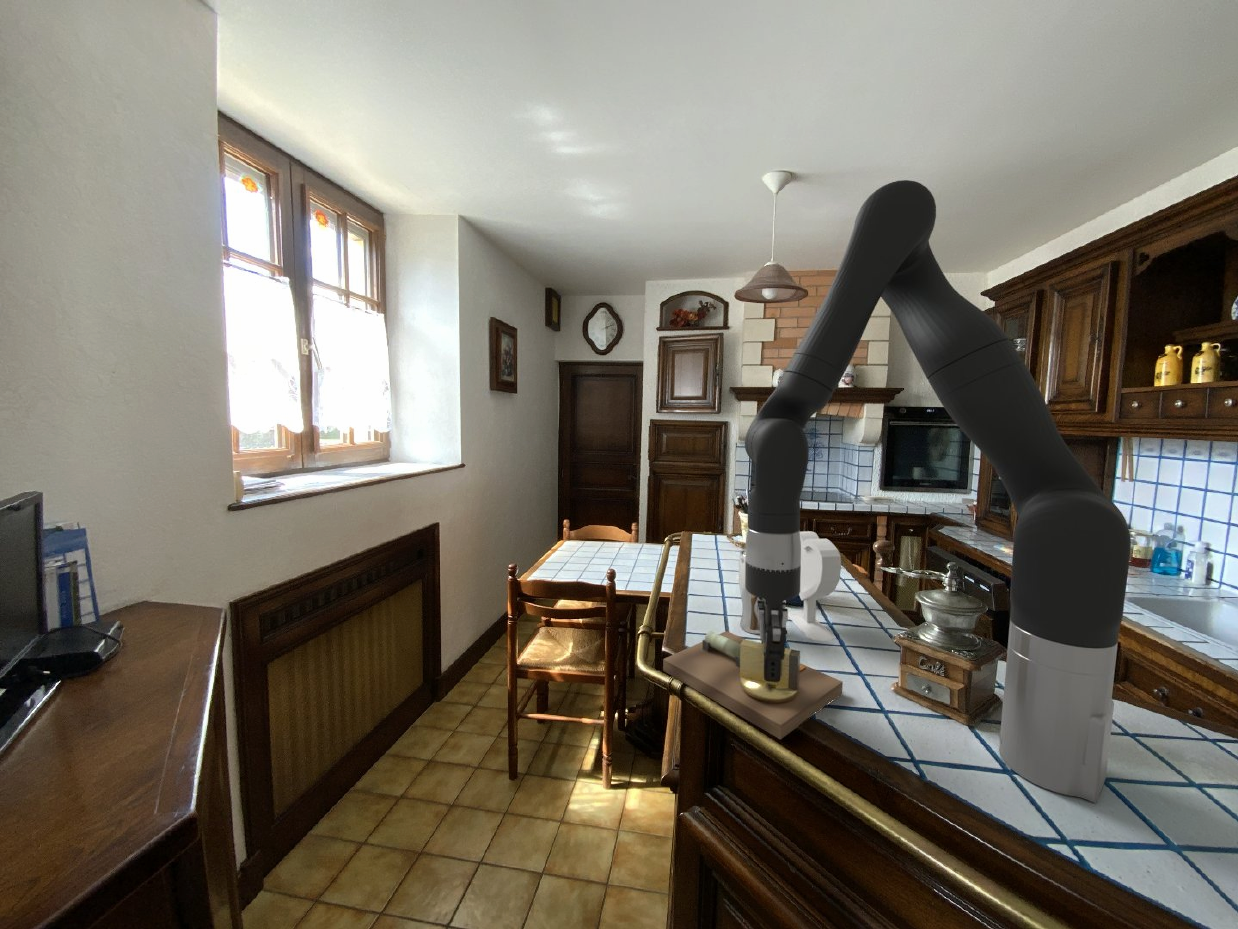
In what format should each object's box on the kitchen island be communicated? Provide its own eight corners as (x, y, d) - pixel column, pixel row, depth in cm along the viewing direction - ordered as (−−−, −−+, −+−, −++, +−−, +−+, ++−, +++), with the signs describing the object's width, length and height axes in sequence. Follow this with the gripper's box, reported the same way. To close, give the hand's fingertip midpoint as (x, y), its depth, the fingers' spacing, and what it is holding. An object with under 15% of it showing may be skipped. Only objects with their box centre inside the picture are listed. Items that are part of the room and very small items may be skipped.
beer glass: (770, 620, 100) (772, 548, 98) (778, 636, 93) (780, 558, 91) (735, 619, 100) (736, 547, 99) (740, 635, 94) (741, 558, 92)
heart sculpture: (780, 609, 105) (783, 526, 103) (803, 608, 105) (806, 526, 103) (815, 644, 90) (818, 547, 88) (842, 642, 90) (846, 546, 88)
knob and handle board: (842, 694, 74) (843, 664, 73) (780, 739, 64) (781, 705, 64) (726, 641, 91) (726, 616, 91) (663, 670, 81) (663, 643, 81)
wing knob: (802, 680, 74) (803, 642, 73) (793, 709, 67) (794, 667, 66) (747, 667, 78) (748, 630, 77) (734, 693, 71) (734, 653, 70)
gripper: (809, 577, 62) (805, 705, 64) (793, 546, 76) (791, 653, 78) (748, 574, 64) (746, 699, 66) (743, 545, 78) (742, 649, 79)
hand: (770, 674), depth 72 cm, fingers closed on wing knob, 2 cm apart
